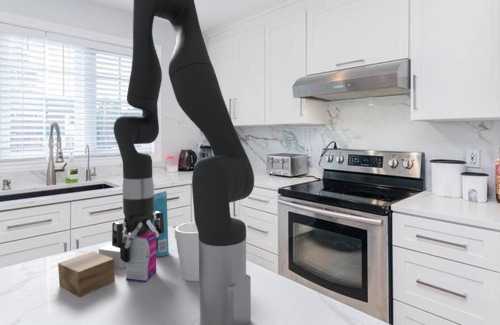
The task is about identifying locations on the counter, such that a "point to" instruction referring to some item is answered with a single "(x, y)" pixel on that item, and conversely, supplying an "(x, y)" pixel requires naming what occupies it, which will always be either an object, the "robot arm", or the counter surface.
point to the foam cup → (188, 250)
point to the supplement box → (142, 258)
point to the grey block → (113, 255)
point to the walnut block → (86, 273)
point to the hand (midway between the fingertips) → (140, 255)
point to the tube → (161, 206)
